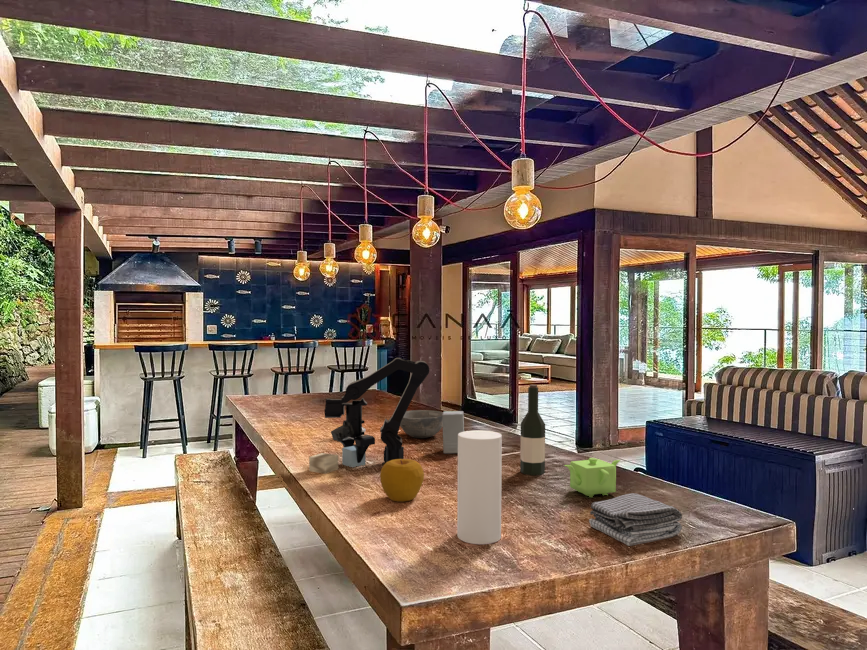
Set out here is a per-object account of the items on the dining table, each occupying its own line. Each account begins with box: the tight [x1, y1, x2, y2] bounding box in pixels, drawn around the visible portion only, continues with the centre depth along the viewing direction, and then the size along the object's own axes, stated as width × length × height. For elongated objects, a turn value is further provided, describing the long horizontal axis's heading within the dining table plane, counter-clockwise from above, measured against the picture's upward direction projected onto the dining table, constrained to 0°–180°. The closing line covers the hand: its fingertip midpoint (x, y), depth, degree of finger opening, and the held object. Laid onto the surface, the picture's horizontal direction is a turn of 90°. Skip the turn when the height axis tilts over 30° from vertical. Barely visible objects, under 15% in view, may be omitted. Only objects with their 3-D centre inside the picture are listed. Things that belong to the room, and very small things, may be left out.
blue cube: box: [341, 446, 367, 468], centre depth 213 cm, size 6×6×6 cm
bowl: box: [400, 409, 443, 439], centre depth 262 cm, size 21×21×10 cm
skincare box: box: [442, 410, 465, 454], centre depth 232 cm, size 8×7×16 cm
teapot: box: [564, 457, 621, 498], centre depth 181 cm, size 15×13×11 cm
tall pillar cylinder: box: [456, 429, 503, 545], centre depth 145 cm, size 11×11×25 cm
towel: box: [588, 492, 683, 547], centre depth 150 cm, size 15×18×8 cm
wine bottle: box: [519, 384, 546, 476], centre depth 204 cm, size 8×8×30 cm
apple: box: [379, 458, 425, 503], centre depth 174 cm, size 13×13×11 cm
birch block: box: [308, 452, 339, 475], centre depth 205 cm, size 7×7×5 cm
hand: (353, 460), depth 213 cm, fingers open, 6 cm apart
